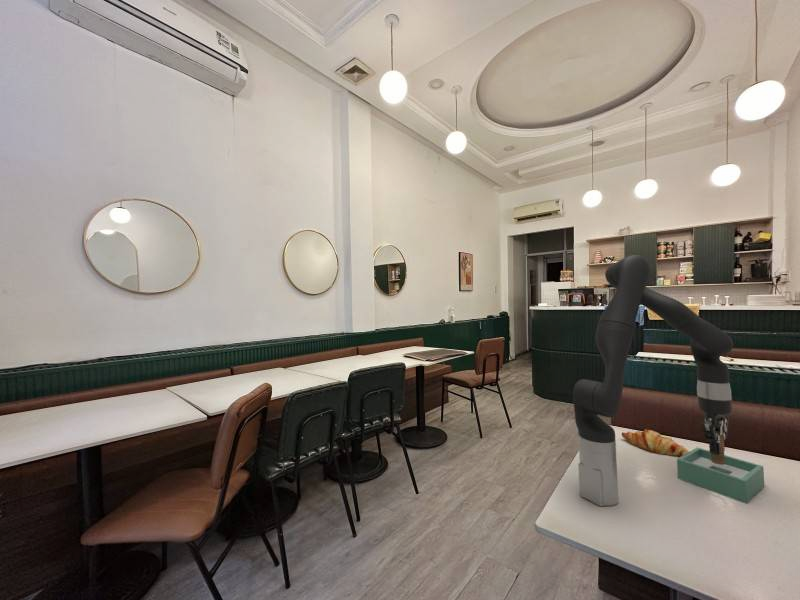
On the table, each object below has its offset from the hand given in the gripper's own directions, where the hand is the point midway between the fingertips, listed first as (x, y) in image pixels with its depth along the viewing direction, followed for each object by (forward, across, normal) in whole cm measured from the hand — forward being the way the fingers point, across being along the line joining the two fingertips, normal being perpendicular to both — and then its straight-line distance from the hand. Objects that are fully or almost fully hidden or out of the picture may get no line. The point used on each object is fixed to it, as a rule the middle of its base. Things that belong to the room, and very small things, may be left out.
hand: (717, 451), depth 97 cm
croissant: (+10, +9, +21) cm, 25 cm away
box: (+9, 0, 0) cm, 9 cm away
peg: (+3, 0, 0) cm, 3 cm away
